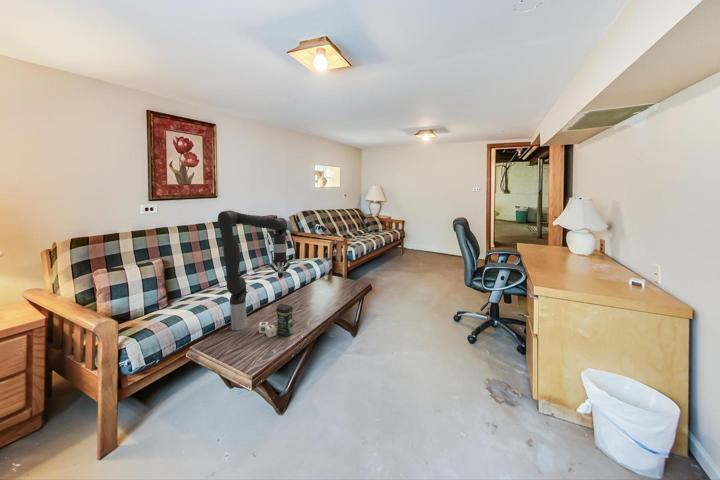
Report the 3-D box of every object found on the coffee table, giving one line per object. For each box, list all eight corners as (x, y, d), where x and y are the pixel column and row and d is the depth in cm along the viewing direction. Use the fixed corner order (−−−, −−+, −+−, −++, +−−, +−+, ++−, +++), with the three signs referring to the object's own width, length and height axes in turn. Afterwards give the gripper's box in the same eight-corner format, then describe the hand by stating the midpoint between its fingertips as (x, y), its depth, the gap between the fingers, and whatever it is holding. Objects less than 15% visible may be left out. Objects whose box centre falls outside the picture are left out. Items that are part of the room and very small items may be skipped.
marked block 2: (268, 338, 174) (268, 330, 173) (265, 334, 179) (265, 326, 179) (277, 336, 177) (276, 328, 176) (273, 332, 182) (273, 324, 181)
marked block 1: (259, 333, 180) (258, 325, 179) (260, 329, 185) (260, 321, 184) (267, 332, 181) (266, 325, 180) (268, 329, 186) (268, 321, 185)
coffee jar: (275, 334, 180) (273, 305, 176) (283, 328, 186) (282, 301, 183) (287, 337, 175) (285, 308, 172) (295, 332, 182) (294, 304, 179)
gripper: (269, 252, 170) (270, 281, 173) (292, 251, 175) (292, 278, 178) (267, 250, 177) (268, 277, 180) (289, 248, 182) (290, 275, 185)
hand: (280, 278), depth 179 cm, fingers closed
